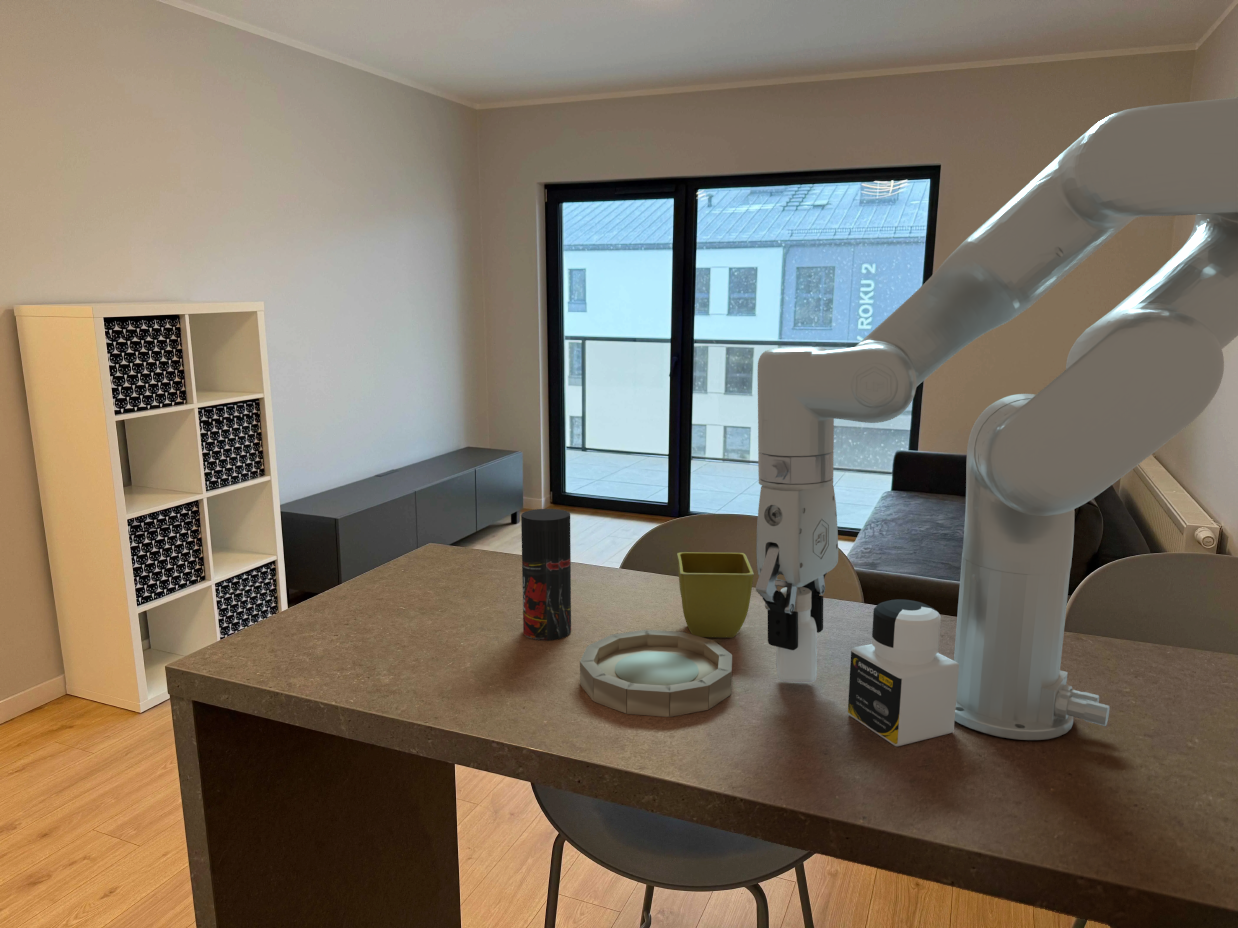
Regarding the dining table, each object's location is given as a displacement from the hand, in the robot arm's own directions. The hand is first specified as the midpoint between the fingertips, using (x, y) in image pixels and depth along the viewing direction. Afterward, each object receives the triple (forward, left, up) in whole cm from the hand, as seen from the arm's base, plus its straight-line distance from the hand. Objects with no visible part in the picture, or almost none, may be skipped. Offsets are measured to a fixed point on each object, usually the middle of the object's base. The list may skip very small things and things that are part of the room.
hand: (795, 636), depth 89 cm
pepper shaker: (0, 0, -5) cm, 5 cm away
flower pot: (+15, -8, -6) cm, 18 cm away
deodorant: (+31, +5, -6) cm, 32 cm away
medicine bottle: (-12, +1, -6) cm, 13 cm away
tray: (+12, +8, -6) cm, 16 cm away
